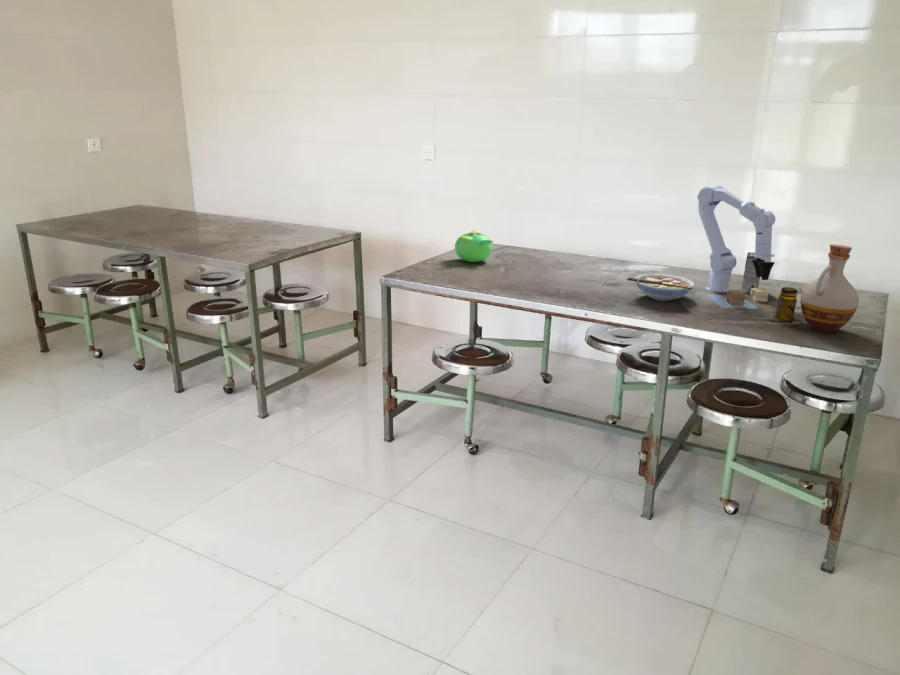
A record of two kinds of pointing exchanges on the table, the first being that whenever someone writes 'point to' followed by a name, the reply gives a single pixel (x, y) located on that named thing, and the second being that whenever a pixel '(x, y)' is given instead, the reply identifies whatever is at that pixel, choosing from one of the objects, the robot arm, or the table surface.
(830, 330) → the jug
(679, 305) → the table surface
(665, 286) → the ramen bowl
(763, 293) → the maple cube
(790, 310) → the condiment
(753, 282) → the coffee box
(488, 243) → the green teapot
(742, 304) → the walnut cube
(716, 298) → the board
